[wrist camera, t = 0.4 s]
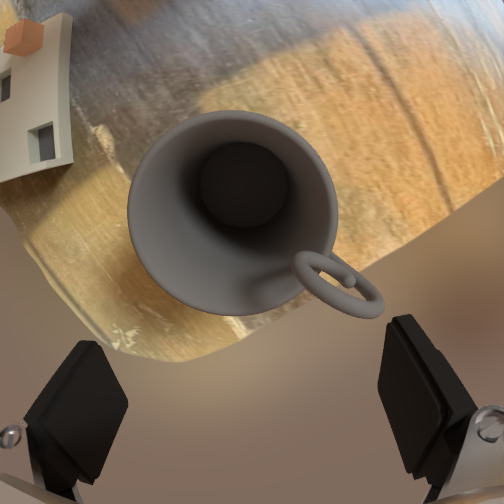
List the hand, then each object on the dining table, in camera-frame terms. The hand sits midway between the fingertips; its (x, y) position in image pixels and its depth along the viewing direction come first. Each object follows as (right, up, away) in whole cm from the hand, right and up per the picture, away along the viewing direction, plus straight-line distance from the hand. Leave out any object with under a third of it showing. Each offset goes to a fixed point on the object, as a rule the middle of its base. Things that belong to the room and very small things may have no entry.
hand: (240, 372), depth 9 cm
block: (-32, +35, +17) cm, 50 cm away
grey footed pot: (0, +12, +28) cm, 31 cm away
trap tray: (-34, +27, +23) cm, 50 cm away
